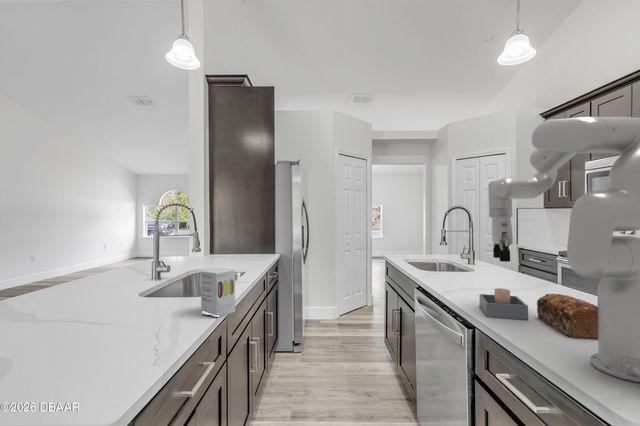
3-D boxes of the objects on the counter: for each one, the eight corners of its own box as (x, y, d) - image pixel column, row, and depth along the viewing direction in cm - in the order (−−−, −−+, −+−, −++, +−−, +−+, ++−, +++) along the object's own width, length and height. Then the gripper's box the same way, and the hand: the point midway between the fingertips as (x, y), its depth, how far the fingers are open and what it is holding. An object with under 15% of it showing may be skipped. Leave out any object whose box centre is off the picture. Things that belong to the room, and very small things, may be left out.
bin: (528, 320, 108) (528, 305, 108) (486, 317, 112) (486, 303, 112) (516, 309, 120) (516, 296, 120) (479, 306, 124) (479, 294, 124)
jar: (511, 314, 113) (511, 292, 113) (496, 313, 114) (496, 291, 114) (508, 310, 117) (507, 288, 117) (493, 308, 119) (493, 287, 119)
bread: (608, 340, 91) (607, 306, 91) (567, 338, 93) (566, 305, 93) (569, 319, 109) (568, 290, 109) (535, 317, 111) (535, 289, 111)
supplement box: (216, 318, 115) (215, 273, 115) (200, 314, 120) (199, 271, 120) (236, 311, 123) (235, 269, 124) (220, 308, 128) (219, 267, 128)
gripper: (519, 213, 107) (520, 263, 107) (505, 213, 123) (506, 256, 123) (494, 213, 109) (495, 262, 109) (484, 213, 125) (485, 256, 125)
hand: (501, 259), depth 116 cm, fingers open, 9 cm apart
